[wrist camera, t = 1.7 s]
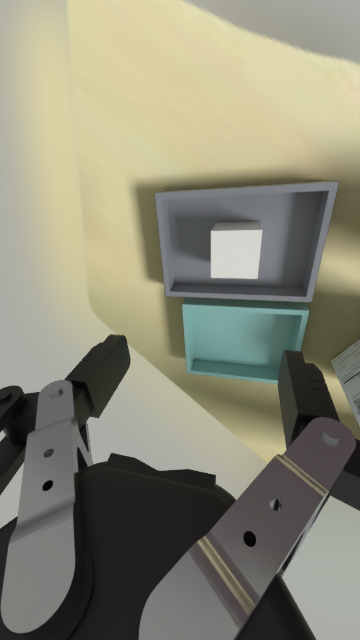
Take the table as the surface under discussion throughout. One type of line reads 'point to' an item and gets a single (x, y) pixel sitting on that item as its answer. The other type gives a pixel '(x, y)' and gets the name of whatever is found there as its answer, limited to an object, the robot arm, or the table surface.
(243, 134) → the table surface
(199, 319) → the bin
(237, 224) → the stone block
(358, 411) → the light bulb box
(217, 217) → the bin
